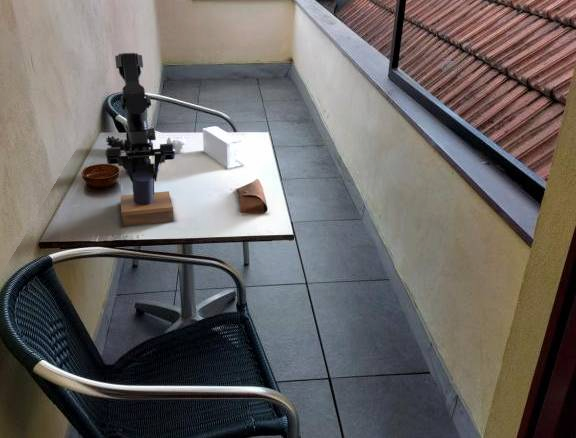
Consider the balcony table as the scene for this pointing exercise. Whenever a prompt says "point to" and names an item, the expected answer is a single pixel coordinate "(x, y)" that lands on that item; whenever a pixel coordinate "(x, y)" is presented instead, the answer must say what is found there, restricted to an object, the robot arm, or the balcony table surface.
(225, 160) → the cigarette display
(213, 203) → the balcony table surface
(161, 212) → the wooden block base
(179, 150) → the white coral
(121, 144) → the pine cone
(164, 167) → the balcony table surface
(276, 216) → the balcony table surface
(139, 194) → the speaker
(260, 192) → the sunglasses case
